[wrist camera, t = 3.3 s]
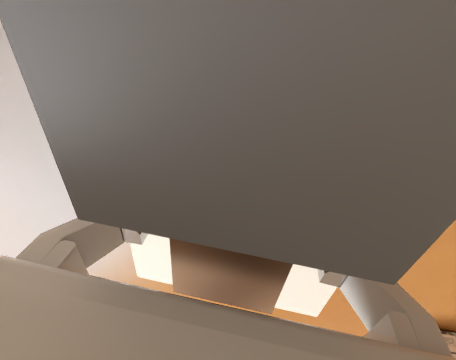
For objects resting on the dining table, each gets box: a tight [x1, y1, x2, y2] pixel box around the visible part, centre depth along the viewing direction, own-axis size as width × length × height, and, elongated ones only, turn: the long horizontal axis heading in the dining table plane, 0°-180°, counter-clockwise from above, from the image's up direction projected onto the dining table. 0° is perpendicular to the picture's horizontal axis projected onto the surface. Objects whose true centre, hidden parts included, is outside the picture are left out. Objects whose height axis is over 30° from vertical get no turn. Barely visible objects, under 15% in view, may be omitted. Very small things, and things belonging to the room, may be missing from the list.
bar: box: [169, 238, 293, 314], centre depth 8 cm, size 4×15×4 cm, turn 174°
